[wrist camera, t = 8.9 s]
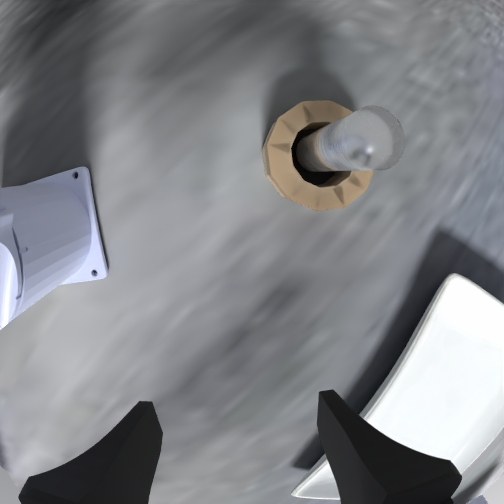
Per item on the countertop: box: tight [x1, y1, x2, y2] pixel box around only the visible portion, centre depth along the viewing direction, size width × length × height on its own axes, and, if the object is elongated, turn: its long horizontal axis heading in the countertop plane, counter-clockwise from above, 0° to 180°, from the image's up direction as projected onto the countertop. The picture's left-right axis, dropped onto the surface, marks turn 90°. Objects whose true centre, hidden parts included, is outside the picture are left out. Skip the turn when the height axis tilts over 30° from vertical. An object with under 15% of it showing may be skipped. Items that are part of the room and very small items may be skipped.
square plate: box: [291, 273, 504, 499], centre depth 25 cm, size 27×27×4 cm
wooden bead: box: [262, 100, 374, 211], centre depth 18 cm, size 6×6×3 cm
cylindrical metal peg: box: [296, 106, 405, 172], centre depth 15 cm, size 2×2×10 cm
